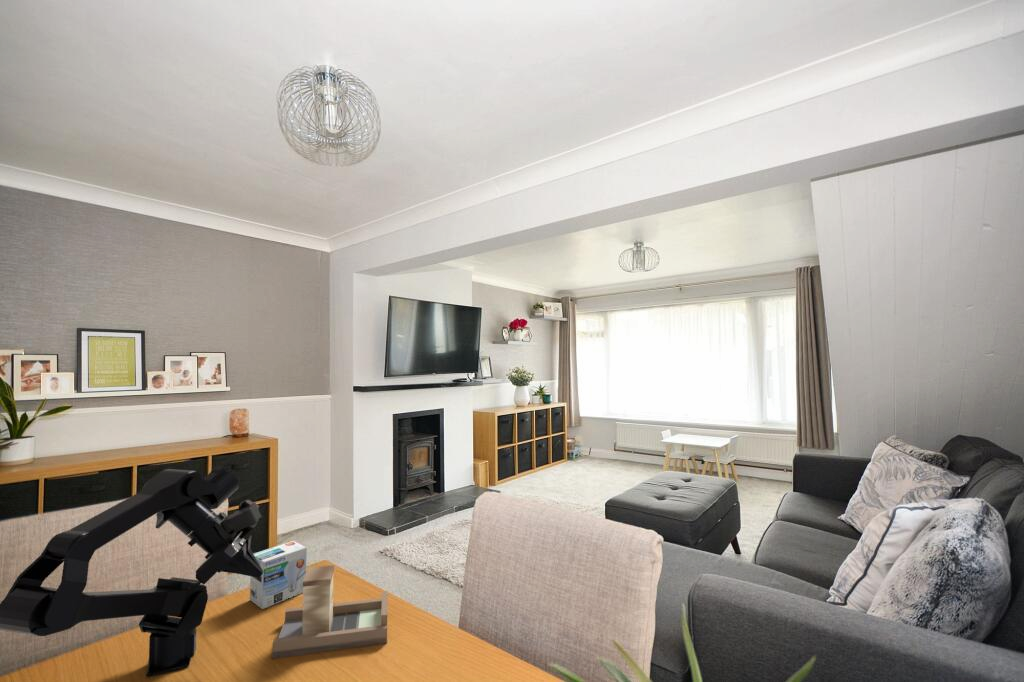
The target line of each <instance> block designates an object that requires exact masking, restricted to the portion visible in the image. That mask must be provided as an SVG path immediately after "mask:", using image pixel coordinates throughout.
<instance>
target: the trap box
mask: <svg viewBox="0 0 1024 682" xmlns="http://www.w3.org/2000/svg"><path fill="white" fill-rule="evenodd" d="M388 596H389V593H388V590H386V591H381V597H379V598H371V599H362V600H354V601H353V600H352V601H346V602H343V601H342V602H336V603H334V602H333V618H332V623H331V627H330V632H325V633H317V634H309V635H302V623H303V606H300V607H292V608H286V609H285V612H284V622H283V625H282V627H281V630H280V632H279V634H278V638H273V641H272V659H278V658H279V659H280V658H287V657H294V656H295V657H296V656H302V655H308V654H317V653H325V652H330V651H331V652H332V651H338V650H339V651H340V650H346V649H353V648H361V647H367V646H369V647H370V646H376V645H383V644H387V643H388V606H389V605H388V599H389V598H388Z"/></svg>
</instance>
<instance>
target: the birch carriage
mask: <svg viewBox="0 0 1024 682" xmlns="http://www.w3.org/2000/svg"><path fill="white" fill-rule="evenodd" d="M334 571H335V565H325V566H324V565H322V566H310V567H307V568H306V574H305V577H304V580H303V593H302V607H303V623H302V635H309V634H317V633H325V632H330V627H331V623H332V618H333V604H334V573H335V572H334Z"/></svg>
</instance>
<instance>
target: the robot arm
mask: <svg viewBox="0 0 1024 682" xmlns="http://www.w3.org/2000/svg"><path fill="white" fill-rule="evenodd" d="M201 475H202V474H200V472H198V471H196V470H188V469H187V470H186V469H174V468H173V469H172V468H166V469H163V470H161V471H160V472H158V473H156V474H155V475H154V476H153V477H152V478H150V479H149V480H147V481H146V482H145V483H144V486H143V487H142V488H141V490H140V491H138V492H136V493H135V494H134V495H133V494H132V496H129V497H128V498H126V499H124V500H122V501H121V502H120V501H119V502H118V503H117V504H115V505H113V506H111V507H109V508H107V509H105V510H104V511H102V512H100V513H99V514H96V515H95V516H93V517H91V518H88V519H87V520H84V522H81V523H80V524H78V525H76V526H74V527H73V528H69V529H68V530H66V531H62V532H60V533H56V534H55V535H54V536H53V537H51V539H50V540H49V541H48V542H47V544H46V546H45V547H44V549H43V551H42V553H41V554H40V555H39V556H37V558H36V559H35V560H33V562H32V563H30V564H29V566H27V567H26V568H25V569H24V570H23V571H22V572H21V573H19V575H18V576H17V578H16V579H15V581H14V583H13V584H12V586H11V587H10V588H9V590H8V592H7V593H6V596H5V597H4V598H3V600H1V602H0V631H4V632H9V633H10V632H12V633H17V634H25V635H30V636H37V637H47V636H51V635H53V634H54V635H55V634H58V633H61V632H63V631H64V632H65V631H67V630H71V629H72V628H73V627H75V626H77V625H79V624H80V623H84V622H88V621H89V622H91V621H101V620H109V619H111V620H112V619H119V618H128V617H130V618H131V617H139V616H140V617H141V616H143V617H142V618H141V620H140V621H139V623H138V627H139V629H140V632H141V633H143V634H144V633H148V634H150V635H149V637H148V638H149V642H148V645H149V646H148V666H147V670H146V671H145V677H152V676H156V675H159V674H164V673H168V672H171V671H176V670H180V669H184V668H187V667H189V666H190V663H191V661H192V658H193V657H194V656H195V653H196V650H197V627H199V626H200V625H201V624H202V621H203V618H204V615H205V614H204V613H205V610H206V608H207V604H208V599H209V595H208V590H207V588H208V587H207V586H206V585H205V584H206V583H207V582H208V581H210V579H212V578H213V577H214V576H215V575H216V574H217V573H219V574H220V573H230V574H236V575H242V576H247V577H250V576H252V577H257V578H259V577H260V576H261V575H262V574H263V570H262V568H261V567H260V565H259V563H258V561H257V560H256V558H255V556H254V552H253V550H252V548H251V542H252V535H249V536H248V537H247V538H246V539H245V538H244V537H245V536H246V535H247V534H248V533H249V532H251V531H252V530H254V529H255V527H256V526H257V525H258V522H259V519H260V518H262V515H261V513H260V511H259V510H260V505H259V504H257V503H256V502H255V501H254V502H253V501H252V500H250V499H245V500H244V501H241V502H240V503H239V504H238V510H235V511H234V512H233V513H231V514H229V515H227V514H226V513H225V512H219V513H218V514H217V513H216V512H215V511H213V510H215V509H218V508H219V507H220V506H221V505H222V504H223V503H225V501H226V500H228V499H229V498H230V497H231V496H232V495H233V494H234V493H235V492H237V490H238V489H239V486H240V482H239V479H238V478H236V476H235V475H234V474H232V473H231V472H229V471H227V469H226V467H225V466H216V467H214V468H212V470H211V471H210V472H209V473H208V474H207V475H205V476H204V478H202V476H201ZM155 515H156V522H155V528H156V529H160V528H161V527H162V526H164V525H165V524H167V522H169V523H170V524H172V525H173V526H174V527H175V528H176V529H178V531H180V532H181V533H182V534H183V535H185V537H187V538H188V539H190V540H189V541H188V542H187V545H189V546H190V547H193V546H194V545H195V544H196V545H197V546H198V547H199V548H201V549H202V550H203V551H204V552H205V553H206V555H205V556H204V558H205V560H204V561H203V562H202V563H201V564H200V566H199V567H198V568H197V569H196V570H195V579H191V578H190V579H189V578H182V577H181V578H180V577H175V576H174V577H171V578H162V577H158V578H157V581H156V585H155V586H154V587H153V588H150V589H134V590H133V589H131V590H110V591H109V590H108V591H88V592H87V591H85V592H84V590H85V589H86V586H87V585H88V584H87V583H88V575H89V574H88V573H89V566H90V561H91V559H92V557H93V555H94V554H95V552H96V551H97V550H99V549H100V548H102V547H104V546H105V545H107V544H108V543H110V542H112V541H113V540H115V539H117V538H118V537H120V536H122V535H123V534H125V533H126V532H128V531H130V530H131V529H134V528H135V527H137V526H138V525H140V524H141V523H143V522H145V521H146V520H148V519H150V518H151V517H153V516H155ZM62 564H63V565H62ZM61 565H62V574H61V582H60V583H59V585H58V587H57V588H56V587H55V588H53V587H47V586H42V585H43V583H44V581H45V580H46V579H47V578H48V577H50V575H51V574H52V573H53V572H54V571H56V569H58V567H60V566H61Z"/></svg>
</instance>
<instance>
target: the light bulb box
mask: <svg viewBox="0 0 1024 682" xmlns="http://www.w3.org/2000/svg"><path fill="white" fill-rule="evenodd" d="M307 551H308V547H306V546H304V545H302V544H300V543H298V542H297V541H295V540H291V541H288V542H286V543H282V544H279V545H275V546H273V547H269V548H267V549H263V550H261V551H258V552H253V554H254V556H255V558H256V560H257V561H258V563H259V565H260V567H261V568H262V570H263V574H262V575H261V576H260V577H259V578H257V577H252V576H249V577H250V585H249V601H251V602H252V603H253V604H254V605H255V606H257V607H258V608H260V609H261V610H264V609H267V608H269V607H271V606H273V605H276V604H279V603H281V601H282V602H284V601H287V600H288V598H289V599H292V598H294V597H297V596H299V595H302V594H303V580H304V577H305V574H306V572H307V558H308V557H307V554H308V553H307ZM251 587H252V588H251ZM298 594H299V595H298ZM293 596H294V597H293ZM286 599H287V600H286Z"/></svg>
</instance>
